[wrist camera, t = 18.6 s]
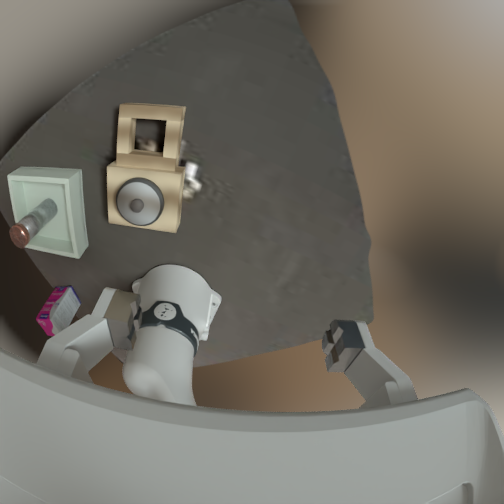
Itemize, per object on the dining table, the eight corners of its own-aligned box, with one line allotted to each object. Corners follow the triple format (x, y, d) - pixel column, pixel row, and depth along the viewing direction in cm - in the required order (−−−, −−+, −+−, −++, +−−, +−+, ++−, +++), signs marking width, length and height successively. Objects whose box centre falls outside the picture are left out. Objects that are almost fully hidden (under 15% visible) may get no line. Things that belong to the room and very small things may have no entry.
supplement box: (71, 284, 55) (50, 319, 46) (82, 303, 58) (64, 338, 49) (55, 285, 55) (34, 319, 46) (65, 303, 59) (48, 336, 49)
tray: (88, 245, 49) (79, 258, 45) (32, 235, 47) (21, 246, 43) (81, 169, 40) (68, 178, 36) (21, 166, 38) (7, 175, 34)
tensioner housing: (180, 222, 47) (172, 240, 42) (116, 213, 45) (103, 230, 41) (193, 107, 36) (185, 111, 31) (119, 102, 35) (102, 107, 30)
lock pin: (59, 218, 44) (28, 249, 35) (44, 216, 44) (13, 246, 34) (56, 198, 42) (23, 227, 33) (41, 197, 41) (7, 225, 32)
